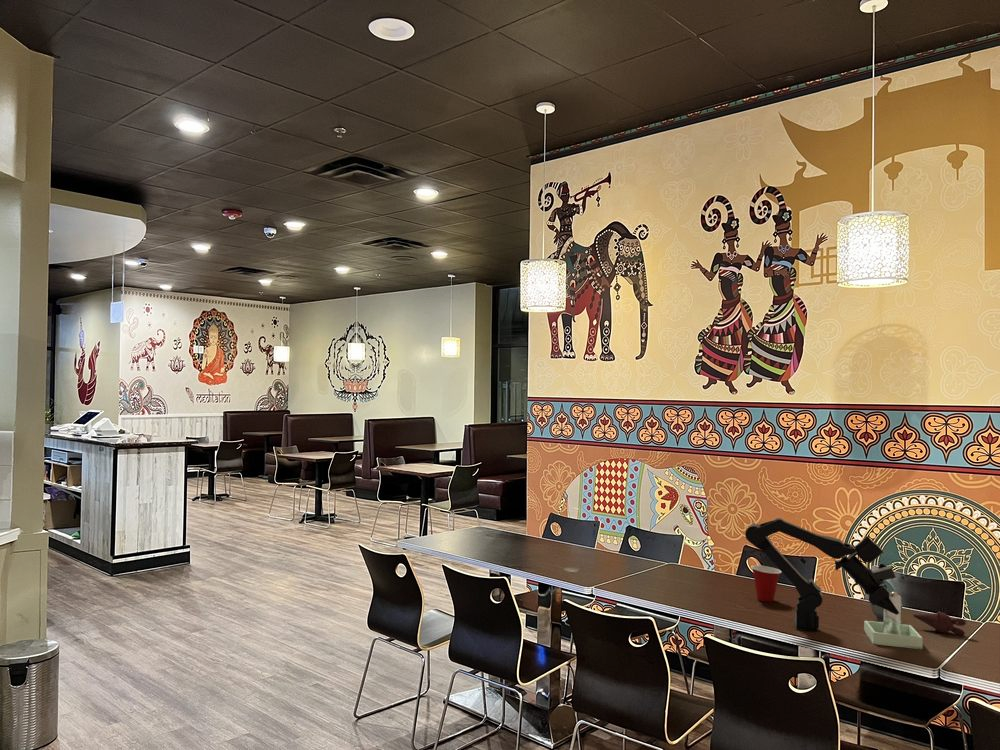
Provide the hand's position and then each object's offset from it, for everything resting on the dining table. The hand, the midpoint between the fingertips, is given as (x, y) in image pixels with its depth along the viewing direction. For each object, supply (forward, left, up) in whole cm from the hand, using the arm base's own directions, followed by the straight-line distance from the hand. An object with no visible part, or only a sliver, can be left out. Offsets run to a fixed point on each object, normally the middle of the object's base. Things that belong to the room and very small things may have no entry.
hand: (897, 611), depth 230 cm
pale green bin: (-1, 0, -9) cm, 9 cm away
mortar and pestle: (+1, +21, -9) cm, 23 cm away
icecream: (+16, +16, -9) cm, 25 cm away
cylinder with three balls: (-1, 0, -7) cm, 7 cm away
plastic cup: (-36, +37, -9) cm, 53 cm away
